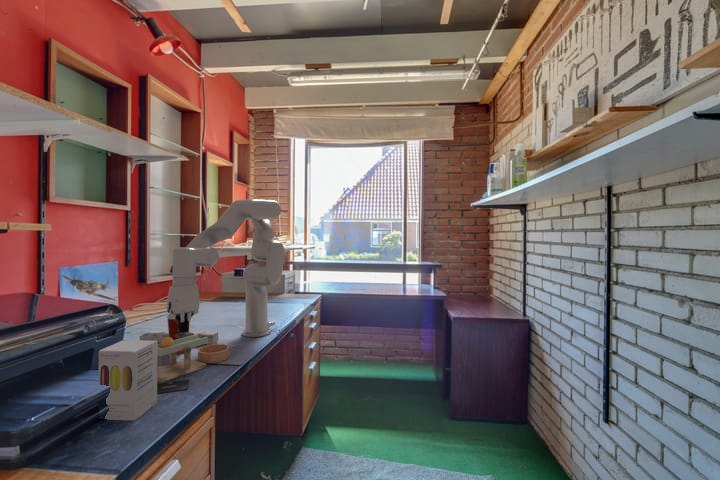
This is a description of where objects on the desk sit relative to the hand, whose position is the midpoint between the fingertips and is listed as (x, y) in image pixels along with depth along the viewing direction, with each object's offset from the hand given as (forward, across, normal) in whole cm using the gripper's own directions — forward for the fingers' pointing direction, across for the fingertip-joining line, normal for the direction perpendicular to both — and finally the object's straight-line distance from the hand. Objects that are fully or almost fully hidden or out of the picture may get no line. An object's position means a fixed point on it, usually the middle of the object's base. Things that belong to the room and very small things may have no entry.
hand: (183, 332), depth 126 cm
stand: (+9, +8, +9) cm, 16 cm away
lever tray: (+6, +6, +5) cm, 10 cm away
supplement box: (+10, +29, +25) cm, 40 cm away
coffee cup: (+9, -3, -8) cm, 12 cm away
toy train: (+10, -9, -18) cm, 22 cm away
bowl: (+9, -6, +9) cm, 14 cm away
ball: (0, +11, +9) cm, 14 cm away
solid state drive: (+10, +16, +20) cm, 28 cm away
